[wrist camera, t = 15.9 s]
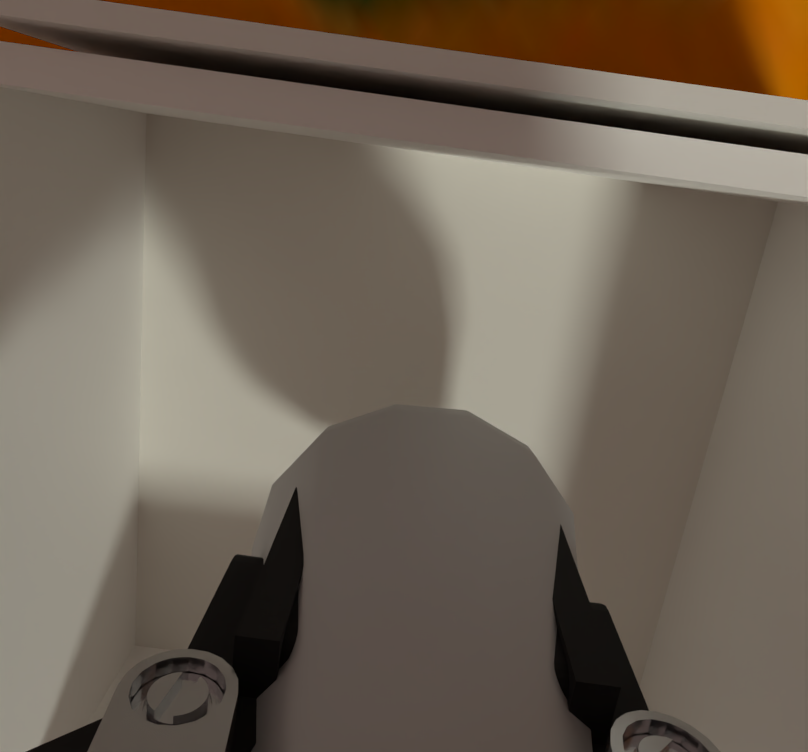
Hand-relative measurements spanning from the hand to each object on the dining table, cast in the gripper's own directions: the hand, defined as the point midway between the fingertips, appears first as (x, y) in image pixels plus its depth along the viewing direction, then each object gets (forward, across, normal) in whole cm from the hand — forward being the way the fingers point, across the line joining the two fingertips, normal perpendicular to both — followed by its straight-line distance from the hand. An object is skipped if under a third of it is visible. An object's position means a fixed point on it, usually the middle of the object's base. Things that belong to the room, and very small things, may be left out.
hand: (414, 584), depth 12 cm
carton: (+6, 0, 0) cm, 6 cm away
